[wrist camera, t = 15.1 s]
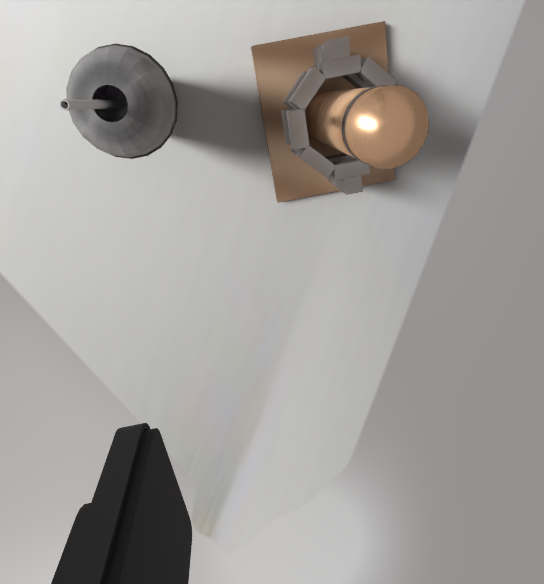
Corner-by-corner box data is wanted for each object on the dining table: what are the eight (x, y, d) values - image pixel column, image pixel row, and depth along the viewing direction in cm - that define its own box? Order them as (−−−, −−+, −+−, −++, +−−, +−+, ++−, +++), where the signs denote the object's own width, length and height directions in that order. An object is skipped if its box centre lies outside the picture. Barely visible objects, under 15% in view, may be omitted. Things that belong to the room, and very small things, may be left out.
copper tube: (300, 95, 41) (346, 92, 25) (349, 86, 41) (428, 77, 25) (307, 147, 43) (354, 176, 27) (354, 138, 43) (430, 161, 27)
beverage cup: (194, 143, 43) (168, 173, 25) (117, 146, 42) (31, 179, 24) (186, 58, 40) (150, 20, 22) (103, 60, 40) (-6, 23, 21)
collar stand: (251, 47, 40) (256, 33, 32) (381, 22, 40) (418, 3, 33) (276, 200, 46) (286, 220, 38) (391, 178, 46) (424, 193, 38)
